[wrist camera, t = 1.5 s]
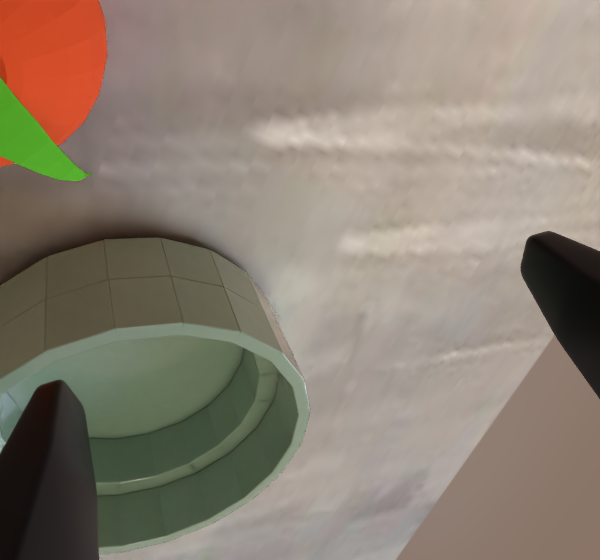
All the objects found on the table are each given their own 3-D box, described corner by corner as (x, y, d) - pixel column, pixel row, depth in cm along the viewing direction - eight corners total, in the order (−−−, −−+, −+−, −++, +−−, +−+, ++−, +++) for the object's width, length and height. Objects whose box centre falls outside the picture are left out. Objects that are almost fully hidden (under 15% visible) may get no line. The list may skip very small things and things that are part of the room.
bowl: (103, 481, 32) (111, 584, 27) (-123, 354, 22) (-167, 481, 18) (311, 355, 31) (353, 440, 27) (171, 169, 22) (202, 253, 17)
